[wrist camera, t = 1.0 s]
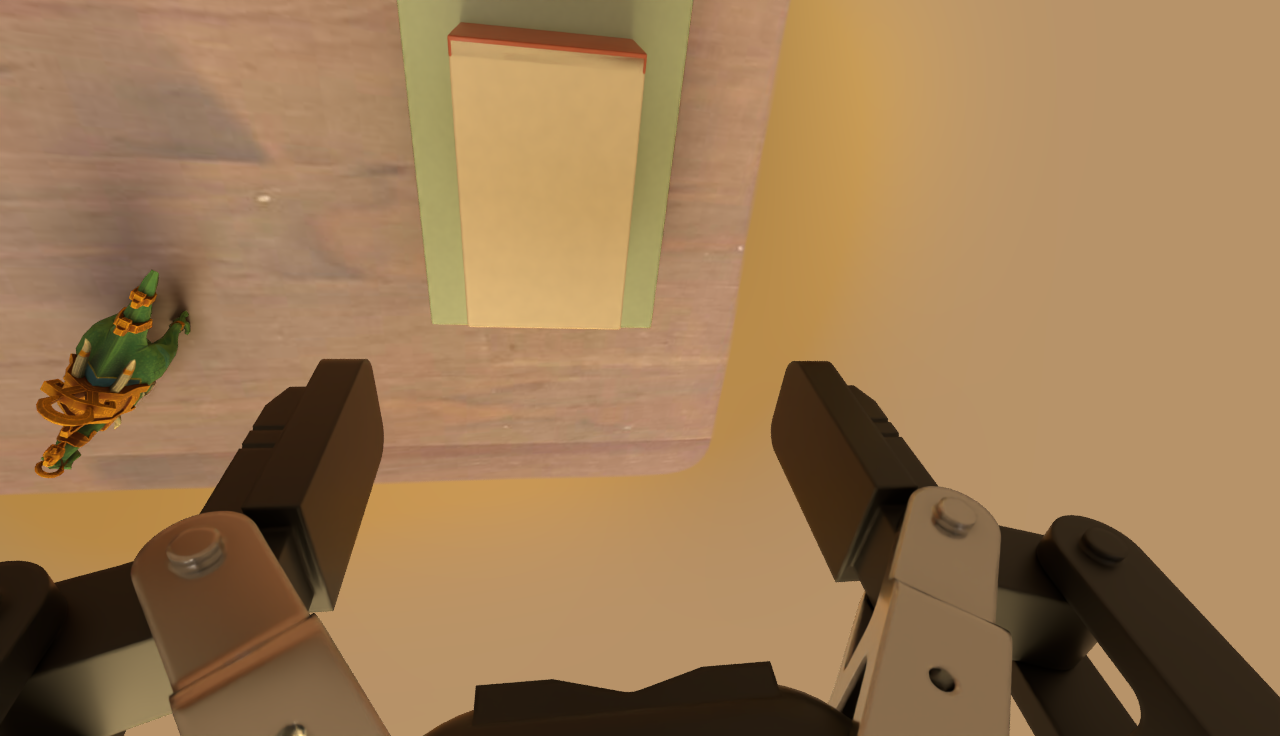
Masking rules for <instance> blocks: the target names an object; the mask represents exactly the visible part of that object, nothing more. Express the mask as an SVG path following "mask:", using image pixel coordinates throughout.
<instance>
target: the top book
mask: <svg viewBox="0 0 1280 736" xmlns="http://www.w3.org/2000/svg"><path fill="white" fill-rule="evenodd" d="M447 41H448V55H449V67H450V81H451V95H452V109H453V123H454V138H455V152H456V166H457V180H458V195H459V209H460V223H461V237H462V252H463V266H464V280H465V294H466V308H467V323H468V326H469V327H510V328H567V329H620V328H621V319H622V309H623V299H624V288H625V278H626V268H627V257H628V247H629V237H630V226H631V216H632V205H633V195H634V185H635V174H636V164H637V154H638V143H639V133H640V123H641V112H642V102H643V91H644V81H645V73H646V62H647V54H646V53H645V52H644V50H643V49H642V48H641V47H640V46H639V45H638V44H637V43H636V42H635V41H634V40H633V39H627V38H617V37H607V36H596V35H586V34H576V33H566V32H556V31H546V30H536V29H526V28H516V27H505V26H495V25H485V24H475V23H465V22H460V23H459V24H458V25H457V26H456V27H455V28H454V29H453V30H452V31H451V32H450V33H449V34H448V36H447Z"/></svg>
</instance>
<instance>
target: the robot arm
mask: <svg viewBox="0 0 1280 736" xmlns="http://www.w3.org/2000/svg"><path fill="white" fill-rule="evenodd" d="M771 439H772V445H773V449H774V451H775V453H776V456H777V458H778V460H779V462H780V464H781V466H782V469H783V470H784V473H785V475H786V477H787V479H788V481H789V483H790V486H791V488H792V490H793V492H794V494H795V496H796V498H797V501H798V502H799V505H800V507H801V509H802V511H803V513H804V516H805V517H806V520H807V522H808V524H809V526H810V528H811V531H812V532H813V535H814V537H815V539H816V541H817V543H818V546H819V548H820V550H821V552H822V554H823V556H824V558H825V560H826V563H827V565H828V567H829V569H830V571H831V573H832V575H833V578H834V580H835V582H845V581H860V582H861V584H862V586H863V588H864V589H865V592H864V594H863V596H862V598H861V600H860V602H859V606H858V609H857V613H856V616H855V619H854V622H853V626H852V629H851V633H850V636H849V639H848V643H847V646H846V650H845V653H844V656H843V660H842V663H841V667H840V670H839V673H838V677H837V680H836V683H835V687H834V689H833V692H832V695H831V697H830V700H829V702H828V704H827V703H825V702H823V701H822V700H820V699H818V698H816V697H813V696H811V695H809V694H807V693H804V692H802V691H799V690H796V689H792V688H789V687H786V686H781V685H778V684H777V681H776V678H775V675H774V672H773V669H772V666H771V663H770V661H767V662H755V663H744V664H733V665H732V664H731V665H719V666H707V667H700V668H698V669H695V670H693V671H690V672H687V673H684V674H682V675H679V676H676V677H674V678H671V679H668V680H666V681H663V682H660V683H657V684H655V685H652V686H650V687H647V688H644V689H641V690H639V691H635V692H622V691H615V690H610V689H605V688H598V687H593V686H588V685H581V684H576V683H570V682H565V681H560V680H554V679H550V680H538V681H526V682H515V683H503V684H490V685H478V686H476V690H475V702H474V710H472V711H470V712H467V713H464V714H462V715H459V716H457V717H455V718H453V719H451V720H449V721H447V722H445V723H443V724H441V725H439V726H437V727H436V728H434V729H433V730H431V731H430V732H428V733H427V734H425V735H424V736H1009V731H1010V729H1009V728H1010V702H1011V701H1010V700H1011V695H1012V697H1013V699H1014V700H1015V702H1016V704H1017V706H1018V707H1019V709H1020V711H1021V712H1022V714H1023V716H1024V718H1025V719H1026V721H1027V723H1028V725H1029V726H1030V728H1031V729H1032V731H1033V733H1034V735H1035V736H1280V697H1279V696H1278V695H1277V694H1276V693H1275V692H1274V691H1273V689H1272V688H1271V687H1270V686H1269V685H1268V684H1267V683H1266V682H1265V681H1264V680H1263V679H1262V678H1261V677H1260V676H1259V674H1258V673H1257V672H1256V671H1255V670H1254V669H1253V668H1252V667H1251V666H1250V665H1249V664H1248V663H1247V662H1246V661H1245V660H1244V658H1243V657H1242V656H1241V655H1240V654H1239V653H1238V652H1237V651H1236V650H1235V649H1234V648H1233V647H1232V646H1231V645H1230V644H1229V642H1227V640H1226V639H1225V638H1224V637H1223V636H1222V635H1221V634H1220V633H1219V632H1218V631H1217V630H1216V629H1215V628H1214V626H1212V625H1211V623H1210V622H1209V621H1208V620H1207V619H1206V618H1205V617H1204V616H1203V615H1202V614H1201V613H1200V612H1199V610H1198V609H1197V608H1196V607H1195V606H1194V605H1193V604H1192V603H1191V602H1190V601H1189V600H1188V599H1187V598H1186V597H1185V596H1184V594H1183V593H1182V592H1180V590H1179V589H1178V588H1177V587H1176V586H1175V585H1174V584H1173V583H1172V582H1171V581H1170V580H1169V579H1168V577H1167V576H1166V575H1165V574H1164V573H1163V572H1162V571H1161V570H1160V569H1159V568H1158V567H1157V566H1156V565H1155V564H1154V563H1153V561H1152V560H1151V559H1150V558H1149V557H1148V556H1147V555H1146V554H1145V553H1144V552H1143V551H1142V550H1141V549H1140V548H1139V547H1138V546H1137V545H1136V544H1135V543H1134V542H1133V541H1132V540H1130V539H1129V538H1128V537H1126V536H1125V535H1123V534H1122V533H1121V532H1119V531H1117V530H1115V529H1114V528H1112V527H1110V526H1108V525H1106V524H1104V523H1101V522H1099V521H1096V520H1093V519H1090V518H1086V517H1082V516H1074V515H1070V516H1069V515H1068V516H1062V517H1060V518H1058V519H1056V520H1055V521H1054V522H1053V523H1052V525H1051V526H1050V528H1049V530H1048V531H1047V532H1046V534H1045V535H1041V534H1036V533H1031V532H1027V531H1022V530H1017V529H1013V528H1008V527H1003V526H999V525H998V524H997V522H996V520H995V519H994V518H993V516H992V515H991V514H990V513H989V512H988V511H987V509H986V508H984V507H983V506H982V505H981V504H979V503H978V502H977V501H975V500H973V499H972V498H970V497H968V496H967V495H964V494H962V493H960V492H958V491H955V490H952V489H949V488H944V487H938V485H937V484H936V482H935V481H934V480H933V479H932V477H931V476H930V474H929V473H928V472H927V471H926V469H925V468H924V466H923V465H922V464H921V462H920V461H919V460H918V458H917V457H916V456H915V455H914V453H913V452H912V450H911V449H910V448H909V446H908V445H907V444H906V442H905V441H904V440H903V438H902V437H899V433H898V432H897V430H896V429H895V427H894V426H893V425H892V423H891V422H888V418H887V417H886V415H885V414H884V413H883V411H882V410H881V409H880V407H879V406H878V405H877V403H876V402H875V401H874V400H873V399H871V398H870V397H869V396H867V395H866V394H865V393H863V392H862V391H861V390H859V389H858V388H857V387H855V386H852V385H850V386H848V385H847V384H846V383H845V381H844V380H843V378H842V377H841V376H840V374H839V373H838V371H837V370H836V369H835V367H834V366H833V365H832V363H830V362H828V361H792V362H791V363H790V364H789V365H788V367H787V369H786V372H785V375H784V379H783V383H782V386H781V390H780V394H779V397H778V401H777V404H776V408H775V411H774V415H773V419H772V424H771ZM383 443H384V431H383V423H382V417H381V412H380V407H379V401H378V396H377V391H376V386H375V380H374V375H373V370H372V366H371V363H370V362H369V360H368V359H322V360H321V361H320V362H319V364H318V366H317V367H316V369H315V371H314V373H313V375H312V377H311V379H310V380H309V382H308V384H307V386H306V387H289V388H287V389H286V390H285V391H284V392H282V393H281V394H280V395H278V396H277V397H276V398H274V399H273V400H272V401H270V402H269V403H268V404H267V405H265V407H264V409H263V410H262V412H261V414H260V415H259V417H258V419H257V420H256V422H255V424H254V425H253V431H250V432H249V433H248V435H247V437H246V438H245V440H244V442H243V443H242V449H239V450H238V452H237V453H236V455H235V456H234V458H233V460H232V461H231V463H230V465H229V466H228V468H227V470H226V471H225V473H224V475H223V476H222V478H221V480H220V481H219V483H218V484H217V486H216V488H215V489H214V491H213V493H212V494H211V496H210V498H209V499H208V501H207V503H206V504H205V506H204V508H203V509H202V511H201V512H200V514H199V515H195V516H192V517H189V518H186V519H183V520H181V521H179V522H177V523H175V524H173V525H171V526H169V527H168V528H166V529H164V530H162V531H161V532H160V533H158V534H157V535H156V536H154V537H153V538H152V539H151V540H150V541H149V542H147V543H146V544H145V545H144V547H143V548H142V549H141V550H140V551H139V553H138V555H137V556H136V558H135V559H134V561H133V562H129V563H126V564H123V565H120V566H116V567H112V568H108V569H105V570H101V571H97V572H93V573H90V574H86V575H82V576H78V577H75V578H71V579H67V580H63V581H60V582H56V583H54V582H53V581H52V579H51V578H50V576H49V575H48V574H47V572H46V571H45V570H44V569H43V568H42V567H41V566H39V565H37V564H34V563H31V562H26V561H5V562H0V736H124V734H125V732H126V730H127V729H130V728H133V727H136V726H138V725H141V724H144V723H147V722H150V721H152V720H155V719H158V718H161V717H163V716H166V715H169V714H172V713H173V716H174V719H175V722H176V724H177V727H178V730H179V733H180V736H391V735H390V734H389V732H388V730H387V729H386V727H385V726H384V724H383V722H382V721H381V719H380V718H379V716H378V714H377V712H376V711H375V709H374V707H373V706H372V704H371V702H370V701H369V699H368V698H367V696H366V694H365V692H364V691H363V689H362V688H361V686H360V684H359V683H358V681H357V679H356V678H355V676H354V675H353V673H352V671H351V669H350V668H349V666H348V664H347V663H346V661H345V660H344V658H343V656H342V655H341V653H340V651H339V650H338V648H337V646H336V645H335V643H334V641H333V640H332V638H331V636H330V635H329V633H328V632H327V630H326V628H325V627H324V625H323V623H322V622H321V621H320V619H319V618H318V616H317V615H316V614H315V613H313V614H311V615H310V614H309V612H322V611H323V612H324V611H333V610H334V607H335V604H336V601H337V597H338V594H339V591H340V588H341V584H342V582H343V578H344V575H345V572H346V569H347V565H348V563H349V559H350V556H351V553H352V550H353V547H354V544H355V540H356V537H357V534H358V531H359V528H360V525H361V521H362V518H363V515H364V512H365V508H366V505H367V502H368V499H369V496H370V493H371V490H372V486H373V483H374V480H375V477H376V474H377V471H378V467H379V464H380V461H381V457H382V453H383ZM1097 642H1098V643H1099V645H1100V646H1101V647H1102V648H1103V650H1104V651H1105V652H1106V654H1107V655H1108V657H1109V658H1110V659H1111V661H1112V662H1113V663H1114V665H1115V666H1116V667H1117V669H1118V670H1119V671H1120V673H1121V674H1122V675H1123V677H1124V678H1125V679H1126V681H1127V682H1128V683H1129V685H1130V686H1131V687H1132V689H1133V690H1134V692H1135V694H1136V696H1137V699H1138V701H1139V705H1140V710H1141V719H1140V723H1139V725H1138V726H1137V725H1136V723H1135V722H1134V721H1133V719H1132V718H1131V717H1130V715H1129V714H1128V712H1127V711H1126V709H1125V708H1124V707H1123V705H1122V704H1121V702H1120V701H1119V700H1118V698H1117V697H1116V696H1115V694H1114V693H1113V691H1112V690H1111V688H1110V687H1109V686H1108V684H1107V683H1106V682H1105V680H1104V679H1103V677H1102V676H1101V675H1100V673H1099V672H1098V670H1097V669H1096V668H1095V666H1094V665H1093V663H1092V662H1091V661H1090V659H1089V658H1088V657H1087V655H1086V654H1087V653H1088V652H1089V651H1090V650H1091V649H1092V647H1093V646H1094V645H1095V644H1096V643H1097Z"/></svg>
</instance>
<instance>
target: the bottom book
mask: <svg viewBox="0 0 1280 736" xmlns="http://www.w3.org/2000/svg"><path fill="white" fill-rule="evenodd" d="M692 6H693V0H397V7H398V16H399V25H400V34H401V43H402V53H403V62H404V71H405V80H406V89H407V99H408V108H409V117H410V126H411V135H412V144H413V154H414V163H415V172H416V181H417V190H418V200H419V209H420V218H421V227H422V236H423V246H424V255H425V264H426V273H427V282H428V291H429V301H430V310H431V319H432V324H454V325H468V323H467V308H466V294H465V280H464V266H463V252H462V237H461V223H460V209H459V195H458V180H457V166H456V152H455V138H454V123H453V109H452V95H451V81H450V67H449V55H448V41H447V36H448V34H449V33H450V32H451V31H452V30H453V29H454V28H455V27H456V26H457V25H458V24H459V23H460V22H465V23H475V24H485V25H495V26H505V27H516V28H526V29H536V30H546V31H556V32H566V33H576V34H586V35H596V36H607V37H617V38H627V39H633V40H634V41H635V42H636V43H637V44H638V45H639V46H640V47H641V48H642V49H643V50H644V52H645V53H646V54H647V62H646V73H645V81H644V91H643V102H642V112H641V123H640V133H639V143H638V154H637V164H636V174H635V185H634V195H633V205H632V216H631V226H630V237H629V247H628V257H627V268H626V278H625V288H624V299H623V309H622V319H621V328H651V323H652V315H653V308H654V300H655V292H656V284H657V277H658V269H659V261H660V253H661V246H662V238H663V230H664V223H665V215H666V207H667V199H668V192H669V184H670V176H671V168H672V161H673V153H674V145H675V138H676V130H677V122H678V114H679V107H680V99H681V91H682V83H683V76H684V68H685V60H686V53H687V45H688V37H689V29H690V22H691V14H692Z"/></svg>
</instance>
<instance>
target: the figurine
mask: <svg viewBox="0 0 1280 736" xmlns="http://www.w3.org/2000/svg"><path fill="white" fill-rule="evenodd" d="M158 276H159V273H158V272H156V271H153V270H151V271H150V272H149V273H148V275H147V276H146V277H145V278H144V279H143V281H142V283H141V284H140V286H138V287H137V288H135V289H134V290H133V291H131V294H130V297H129V299H131V300H132V301H131V302H130V304H129V305H128V307H124V308H123V309H122V310H121V311H120V312H119V313H118V314H115V315H113V316H110V317H108V318H106V319H103V320H101V321H99V322H97V323H95V324H94V325H93V326H92V327H91V328H90V329H89V330H88V331H87V332H86V333H85V334H84V335H83V337H82V338H81V340H80V342H79V344H78V346H77V347H76V354H70V359H69V362H70V364H69V366H68V367H67V368H66V373H65V376H64V378H63V379H64V380H65V383H64V382H62V381H61V380H59V379H55V380H49V381H44V383H43V385H42V387H41V389H40V390H42V391H43V392H45V393H46V394H47V395H49V396H50V397H46V398H42V399H39V400H38V402H37V404H36V407H37V411H38V412H39V413H40V414H41V415H42V416H43V418H44V419H46V420H48V421H50V422H52V423H54V424H58V425H62V426H63V428H62V429H61V431H60V433H59V435H58V437H57V442H56V445H54V444H52V445H51V446H50V447H49V448H48V449H47V450H46V451H45V452H44V454H43V457H42V458H41V459H42V460H43V461H41V462H39V463H37V464H36V466H35V472H36V473H37V474H38V475H39V476H41V477H44V478H55V477H57V476H60V475H61V474H62V473H64V469H71V466H72V464H73V462H74V461H75V460H76V459H78V458H79V457H80V456H81V454H80V452H79V451H78V450H77V449H79V448H80V447H82V446H84V445H85V444H86V443H87V442H89V441H90V440H91V439H92V437H93V436H94V435H95V434H96V433H97V432H98V431H99V430H100V431H104V430H106V429H107V428H108V427H109V426H110V425H111V424H112V423H113V422H114V421H115V426H114V429H116V428H117V427H118V426H120V424H121V414H124V413H127V412H130V411H132V410H133V409H135V408H136V407H135V405H136V403H137V402H138V401H139V399H141V398H142V397H143V396H145V395H147V394H148V393H149V392H150V391H151V390H152V388H153V387H154V385H155V383H156V381H155V380H157V379H158V378H160V377H161V376H162V375H163V374H164V372H165V371H166V369H167V368H168V366H169V365H170V363H171V361H172V360H173V358H174V357H175V355H176V352H177V348H178V336H179V333H180V332H181V331H183V328H184V329H185V332H184V333H185V334H187V335H188V334H189V333H190V324H189V323H188V322H187V321H186V320H185V318H186V317H187V316H188V315H189V314H188V312H187V311H184V312H183V313H182V314H181V316H180V317H179V318H176V319H175V320H173V322H172V323H171V324H170V325H169V327H170V328H169V329H168V331H167V332H166V333H165V335H164V336H163V337H162V338H161V339H159V340H157V341H156V342H154V343H151V342H150V341H149V340H148V339H147V338H146V336H147V332H148V329H149V328H151V327H152V319H151V318H150V317H151V314H152V303H153V302H154V301H155V299H156V296H157V294H156V292H155V291H156V288H157V284H158ZM55 402H57V404H58V405H59V407H60V408H61V409H62V411H63V412H64V413H65V414H62V413H60V412H58V411H55V410H54V409H53V408H52V406H51V405H52V404H54V403H55ZM43 465H44V466H46V467H48V468H49V469H58V470H57V471H56V472H53V473H48V472H45V471H43V470H42V466H43Z"/></svg>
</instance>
